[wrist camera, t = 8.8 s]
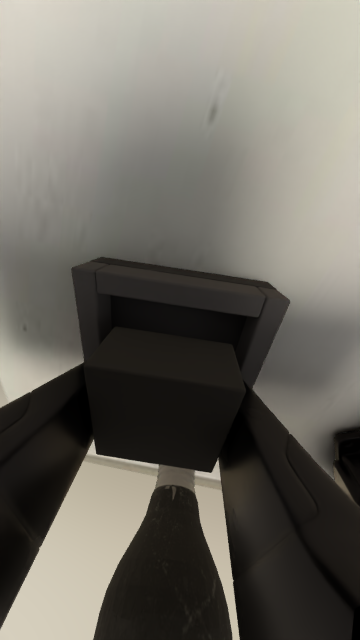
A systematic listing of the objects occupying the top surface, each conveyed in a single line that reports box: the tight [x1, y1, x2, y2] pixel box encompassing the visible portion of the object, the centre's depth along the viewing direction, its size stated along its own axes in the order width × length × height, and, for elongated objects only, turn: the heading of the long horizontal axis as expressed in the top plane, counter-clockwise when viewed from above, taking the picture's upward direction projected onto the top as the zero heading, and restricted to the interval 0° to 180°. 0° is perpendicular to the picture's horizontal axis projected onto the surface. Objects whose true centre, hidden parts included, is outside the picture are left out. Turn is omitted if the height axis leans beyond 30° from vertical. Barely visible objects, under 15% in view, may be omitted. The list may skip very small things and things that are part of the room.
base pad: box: [72, 257, 290, 389], centre depth 9 cm, size 7×7×2 cm
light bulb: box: [93, 465, 232, 640], centre depth 10 cm, size 6×6×10 cm
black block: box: [84, 326, 246, 473], centre depth 6 cm, size 4×4×2 cm
